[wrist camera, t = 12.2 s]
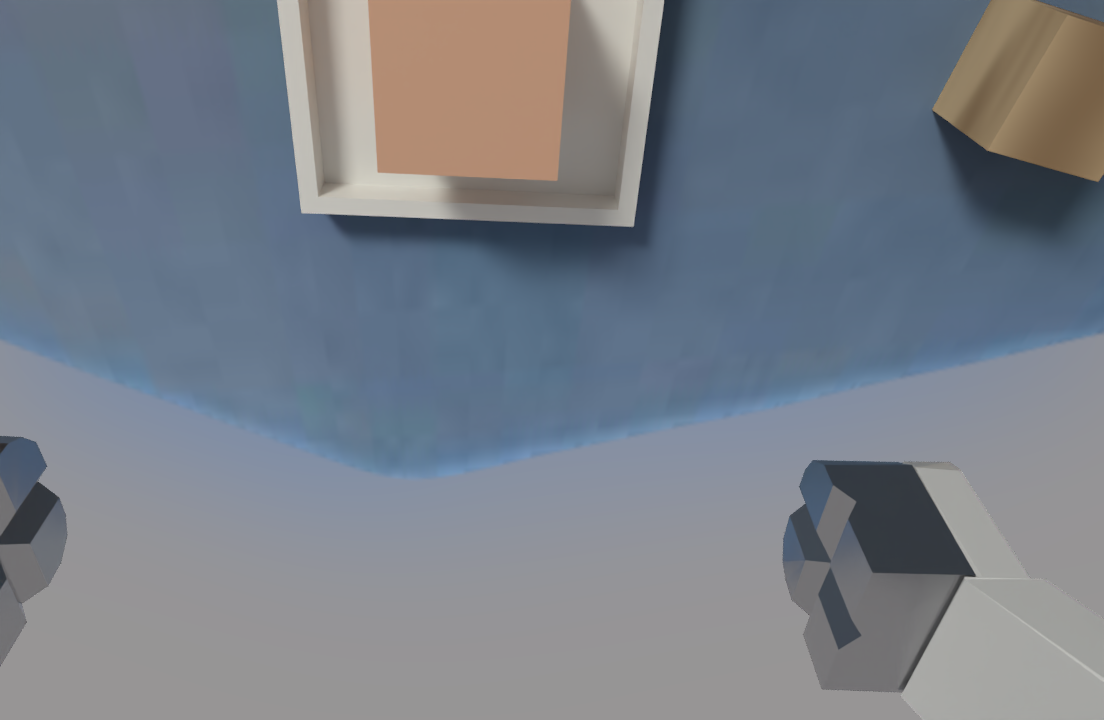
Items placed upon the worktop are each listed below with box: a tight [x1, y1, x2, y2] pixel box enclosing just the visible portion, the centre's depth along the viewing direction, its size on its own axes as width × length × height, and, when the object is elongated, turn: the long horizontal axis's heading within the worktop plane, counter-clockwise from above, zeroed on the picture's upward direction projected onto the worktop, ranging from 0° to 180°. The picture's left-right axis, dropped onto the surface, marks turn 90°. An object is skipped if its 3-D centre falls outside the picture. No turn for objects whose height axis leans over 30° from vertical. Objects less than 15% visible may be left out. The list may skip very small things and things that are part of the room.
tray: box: [277, 0, 664, 227], centre depth 25 cm, size 11×11×2 cm
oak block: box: [932, 0, 1104, 182], centre depth 26 cm, size 4×4×4 cm
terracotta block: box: [368, 0, 571, 181], centre depth 23 cm, size 5×5×5 cm
